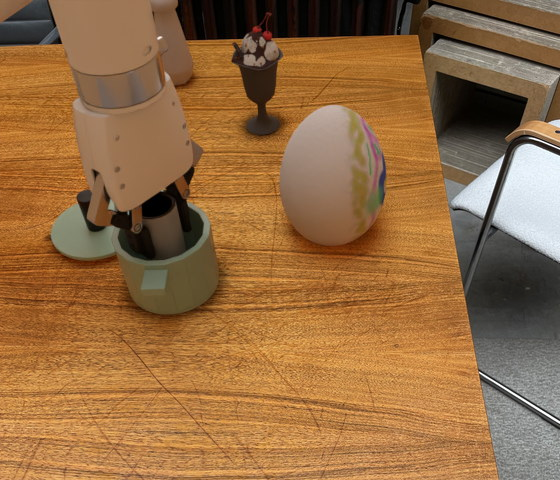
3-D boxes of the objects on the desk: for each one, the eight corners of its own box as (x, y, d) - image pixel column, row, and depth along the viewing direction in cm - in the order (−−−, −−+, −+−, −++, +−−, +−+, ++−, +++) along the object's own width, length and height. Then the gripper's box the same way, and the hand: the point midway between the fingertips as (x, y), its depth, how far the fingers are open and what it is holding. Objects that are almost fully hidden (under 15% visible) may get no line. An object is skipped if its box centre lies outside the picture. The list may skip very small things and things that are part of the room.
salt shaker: (202, 73, 101) (188, -16, 91) (184, 91, 98) (168, 1, 88) (170, 66, 103) (153, -21, 92) (152, 84, 100) (132, -5, 89)
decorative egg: (389, 254, 74) (402, 139, 62) (284, 262, 74) (277, 149, 62) (375, 188, 81) (383, 74, 69) (279, 196, 82) (272, 83, 70)
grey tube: (145, 276, 73) (122, 204, 65) (176, 257, 75) (158, 184, 66) (167, 297, 71) (147, 225, 63) (200, 277, 73) (184, 203, 64)
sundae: (295, 120, 92) (291, 10, 80) (268, 143, 89) (260, 33, 77) (258, 107, 94) (248, -1, 82) (231, 130, 91) (217, 21, 79)
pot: (118, 334, 69) (99, 285, 63) (139, 236, 78) (124, 185, 72) (213, 332, 68) (203, 282, 62) (223, 233, 78) (215, 182, 72)
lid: (44, 266, 76) (26, 229, 72) (64, 204, 83) (49, 168, 78) (138, 262, 75) (126, 225, 71) (151, 201, 82) (141, 164, 78)
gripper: (162, 23, 59) (193, 187, 74) (10, 105, 52) (79, 268, 66) (220, 46, 56) (241, 212, 70) (67, 136, 49) (126, 301, 63)
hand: (162, 238), depth 68 cm, fingers closed on grey tube, 4 cm apart
